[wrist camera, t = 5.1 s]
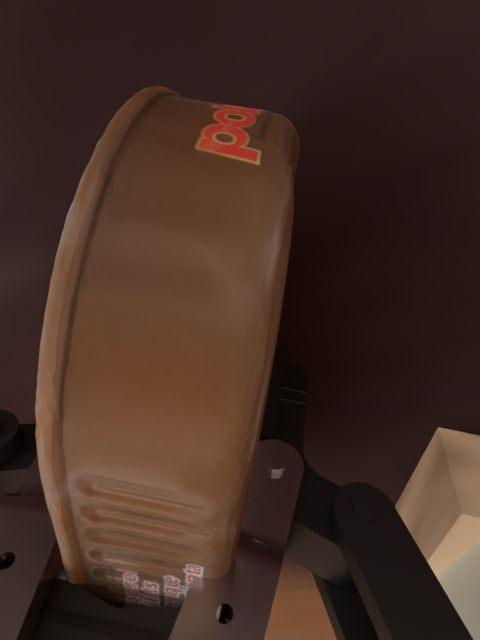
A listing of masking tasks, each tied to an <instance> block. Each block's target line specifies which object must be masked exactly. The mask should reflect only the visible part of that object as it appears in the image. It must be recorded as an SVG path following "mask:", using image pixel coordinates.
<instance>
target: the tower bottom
mask: <svg viewBox="0 0 480 640" xmlns="http://www.w3.org/2000/svg"><path fill="white" fill-rule="evenodd" d="M395 508H396V510H397V511H398V513H399V515H400V517H401V518H402V520H403V522H404V523H405V525H406V527H407V528H408V530H409V532H410V533H411V535H412V537H413V538H414V540H415V542H416V544H417V545H418V547H419V549H420V550H421V552H422V554H423V555H424V557H425V559H426V560H427V562H428V564H429V565H430V567H431V569H432V570H433V572H434V574H435V576H437V575H438V574H439V573H440V572H442V571H443V570H444V569H445V568H446V567H447V566H448V565H449V564H451V563H452V562H453V561H454V560H455V559H456V558H457V557H459V556H460V555H461V554H462V553H463V552H464V551H465V550H467V549H468V548H469V547H470V546H471V545H472V544H473V543H474V542H476V541H477V540H478V539H479V538H480V436H479V435H474V434H469V433H465V432H460V431H455V430H450V429H445V428H440V427H438V428H437V430H436V432H435V434H434V436H433V438H432V439H431V441H430V443H429V445H428V447H427V449H426V450H425V452H424V454H423V456H422V458H421V460H420V461H419V463H418V465H417V467H416V469H415V471H414V472H413V474H412V476H411V478H410V480H409V482H408V483H407V485H406V487H405V489H404V491H403V493H402V495H401V496H400V498H399V500H398V502H397V504H396V506H395Z"/></svg>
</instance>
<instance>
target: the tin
mask: <svg viewBox="0 0 480 640" xmlns="http://www.w3.org/2000/svg"><path fill="white" fill-rule="evenodd" d="M299 152H300V144H299V137H298V134H297V132H296V129H295V127H294V126H293V125H292V123H291V122H290V121H289V120H288V118H287V117H285V116H283V115H280V114H278V113H273V112H269V111H265V110H261V109H254V108H247V107H240V106H233V105H225V104H218V103H212V102H206V101H200V100H194V99H188V98H182V97H181V96H180V95H179V94H178V93H176V92H175V91H173V90H171V89H168V88H166V87H162V86H154V87H148V88H146V89H143V90H140V91H139V92H138V93H137V94H136V95H134V96H133V97H132V98H130V99H129V100H128V101H127V102H126V103H125V104H124V105H123V106H122V107H121V108H120V109H119V110H118V112H117V113H116V114H115V116H114V117H113V118H112V120H111V121H110V123H109V124H108V126H107V128H106V130H105V133H104V135H103V136H102V137H101V138H100V140H99V141H98V142H97V145H96V148H95V150H94V153H93V155H92V158H91V159H90V161H89V163H88V165H87V167H86V169H85V171H84V173H83V175H82V178H81V180H80V183H79V186H78V189H77V192H76V194H75V197H74V200H73V202H72V204H71V207H70V209H69V212H68V214H67V216H66V221H65V226H64V229H63V232H62V235H61V240H60V244H59V248H58V251H57V255H56V258H55V264H54V270H53V274H52V277H51V282H50V288H49V294H48V300H47V305H46V310H45V315H44V325H43V331H42V337H41V343H40V353H39V365H38V378H37V391H36V406H35V414H36V432H35V436H36V444H37V456H38V465H39V471H40V477H41V483H42V487H43V490H44V494H45V499H46V504H47V507H48V510H49V513H50V516H51V520H52V524H53V527H54V531H55V534H56V538H57V541H58V545H59V548H60V552H61V557H62V561H63V565H64V568H65V571H66V575H67V578H68V581H69V583H73V584H78V585H79V586H81V587H83V588H84V589H86V590H87V591H89V592H90V593H92V594H93V595H95V596H97V597H98V598H100V599H101V600H103V601H104V602H106V603H107V604H109V605H111V606H112V607H114V608H118V609H124V608H140V607H155V606H174V607H178V608H181V607H182V605H183V602H184V600H185V597H186V595H187V592H188V590H189V587H190V585H191V582H192V580H193V577H194V576H199V577H203V578H218V577H222V576H223V575H225V574H227V573H228V572H229V571H230V569H231V568H232V567H233V564H234V562H235V558H236V553H237V548H238V542H239V537H240V531H241V527H242V522H243V518H244V513H245V509H246V504H247V500H248V495H249V490H250V485H251V480H252V475H253V470H254V465H255V460H256V455H257V449H258V444H259V438H260V432H261V427H262V421H263V416H264V410H265V405H266V399H267V393H268V388H269V382H270V377H271V371H272V365H273V359H274V353H275V348H276V342H277V336H278V330H279V324H280V318H281V311H282V304H283V297H284V290H285V282H286V275H287V268H288V260H289V253H290V246H291V237H292V227H293V218H294V186H293V184H294V179H295V173H296V168H297V163H298V158H299Z"/></svg>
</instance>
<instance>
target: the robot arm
mask: <svg viewBox="0 0 480 640" xmlns="http://www.w3.org/2000/svg"><path fill="white" fill-rule="evenodd" d="M286 346H287V345H285V344H279V343H276V348H275V353H274V359H273V365H272V371H271V377H270V382H269V388H268V393H267V399H266V405H265V410H264V416H263V421H262V427H261V432H260V438H259V444H258V449H257V455H256V460H255V465H254V470H253V475H252V480H251V485H250V490H249V495H248V500H247V504H246V509H245V513H244V518H243V522H242V527H241V531H240V537H239V542H238V548H237V553H236V558H235V562H234V564H233V567H232V568H231V569H230V571H229V572H228V573H227V574H225V575H223V576H222V577H218V578H203V577H199V576H194V577H193V580H192V582H191V585H190V587H189V590H188V592H187V595H186V597H185V600H184V602H183V605H182V607H181V608H178V607H174V606H155V607H140V608H124V609H118V608H114V607H112V606H111V605H109V604H107V603H106V602H104V601H103V600H101V599H100V598H98V597H97V596H95V595H93V594H92V593H90V592H89V591H87V590H86V589H84V588H83V587H81V586H79V585H78V584H73V583H69V581H68V578H67V575H66V571H65V568H64V565H63V561H62V557H61V552H60V548H59V545H58V541H57V538H56V534H55V531H54V527H53V524H52V520H51V516H50V513H49V510H48V507H47V504H46V499H45V494H44V490H43V487H42V483H41V477H40V471H39V465H38V456H37V444H36V436H35V432H36V423H34V424H22V425H19V422H18V419H17V417H16V416H15V415H14V414H13V413H11V412H9V411H6V410H0V640H264V636H265V632H266V628H267V624H268V620H269V615H270V611H271V607H272V603H273V599H274V595H275V591H276V586H277V582H278V578H279V574H280V570H281V566H282V561H283V557H284V555H285V556H287V557H288V558H290V559H292V560H293V561H295V562H296V563H298V564H300V565H301V566H303V567H304V568H306V569H308V570H309V571H311V572H312V573H313V576H314V579H315V582H316V584H317V587H318V590H319V592H320V595H321V598H322V600H323V603H324V606H325V608H326V611H327V614H328V616H329V619H330V622H331V624H332V627H333V630H334V632H335V635H336V638H337V640H473V638H472V636H471V635H470V633H469V631H468V629H467V628H466V626H465V624H464V623H463V621H462V619H461V618H460V616H459V614H458V613H457V611H456V609H455V608H454V606H453V604H452V603H451V601H450V599H449V597H448V596H447V594H446V592H445V591H444V589H443V587H442V586H441V584H440V582H439V581H438V579H437V577H436V576H435V574H434V572H433V570H432V569H431V567H430V565H429V564H428V562H427V560H426V559H425V557H424V555H423V554H422V552H421V550H420V549H419V547H418V545H417V544H416V542H415V540H414V538H413V537H412V535H411V533H410V532H409V530H408V528H407V527H406V525H405V523H404V522H403V520H402V518H401V517H400V515H399V513H398V511H397V510H396V508H395V506H394V505H393V503H392V502H391V500H390V499H389V498H388V497H387V496H386V495H385V494H384V493H383V492H382V491H380V490H379V489H377V488H375V487H373V486H371V485H368V484H365V483H358V482H355V483H349V484H346V485H344V486H342V487H340V486H338V485H336V484H334V483H332V482H331V481H329V480H327V479H325V478H323V477H322V476H320V475H319V474H317V473H316V472H315V471H314V470H313V469H312V468H311V467H310V465H309V464H308V462H307V461H306V459H305V456H304V453H303V437H304V422H305V408H306V392H307V379H308V377H307V375H306V373H305V371H304V369H303V367H302V365H301V364H296V363H290V362H285V361H284V360H285V354H286Z"/></svg>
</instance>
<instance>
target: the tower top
mask: <svg viewBox="0 0 480 640" xmlns="http://www.w3.org/2000/svg"><path fill="white" fill-rule="evenodd" d="M436 577H437V579H438V581H439V582H440V584H441V586H442V587H443V589H444V591H445V592H446V594H447V596H448V597H449V599H450V601H451V603H452V604H453V606H454V608H455V609H456V611H457V613H458V614H459V616H460V618H461V619H462V621H463V623H464V624H465V626H466V628H467V629H468V631H469V633H470V635H471V636H472V638H473V640H480V538H479V539H478V540H477V541H476V542H474V543H473V544H472V545H471V546H470V547H469V548H468V549H467V550H465V551H464V552H463V553H462V554H461V555H460V556H459V557H457V558H456V559H455V560H454V561H453V562H452V563H451V564H449V565H448V566H447V567H446V568H445V569H444V570H443V571H442V572H440V573H439V574H438V575H437V576H436Z"/></svg>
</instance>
